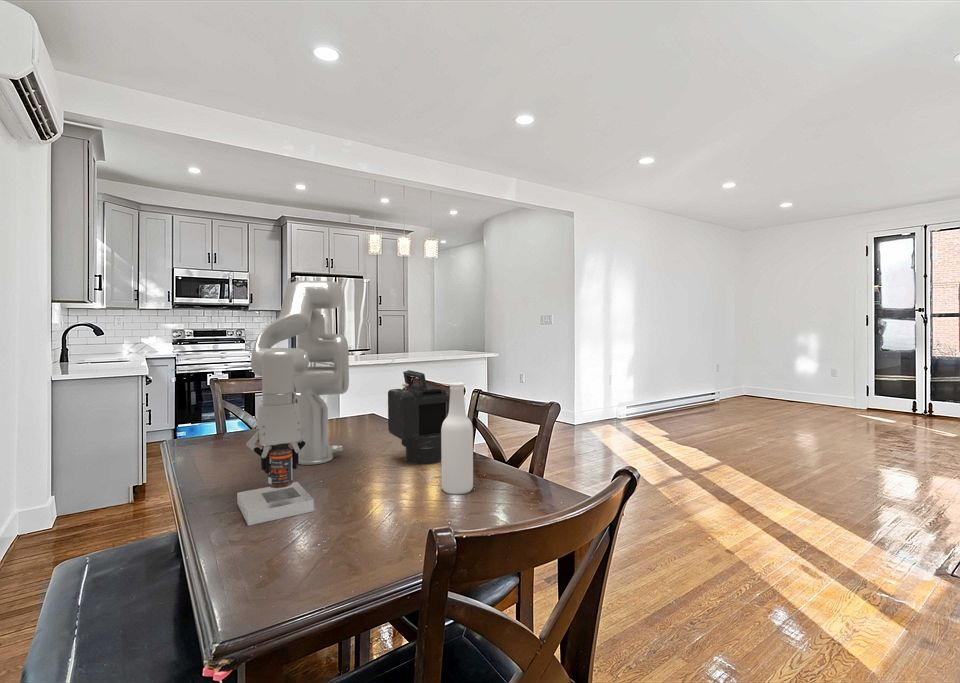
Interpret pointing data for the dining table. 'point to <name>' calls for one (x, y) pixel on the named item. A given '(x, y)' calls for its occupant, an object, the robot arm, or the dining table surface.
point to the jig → (274, 503)
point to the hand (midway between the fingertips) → (280, 469)
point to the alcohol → (457, 445)
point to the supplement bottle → (280, 466)
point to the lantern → (418, 418)
